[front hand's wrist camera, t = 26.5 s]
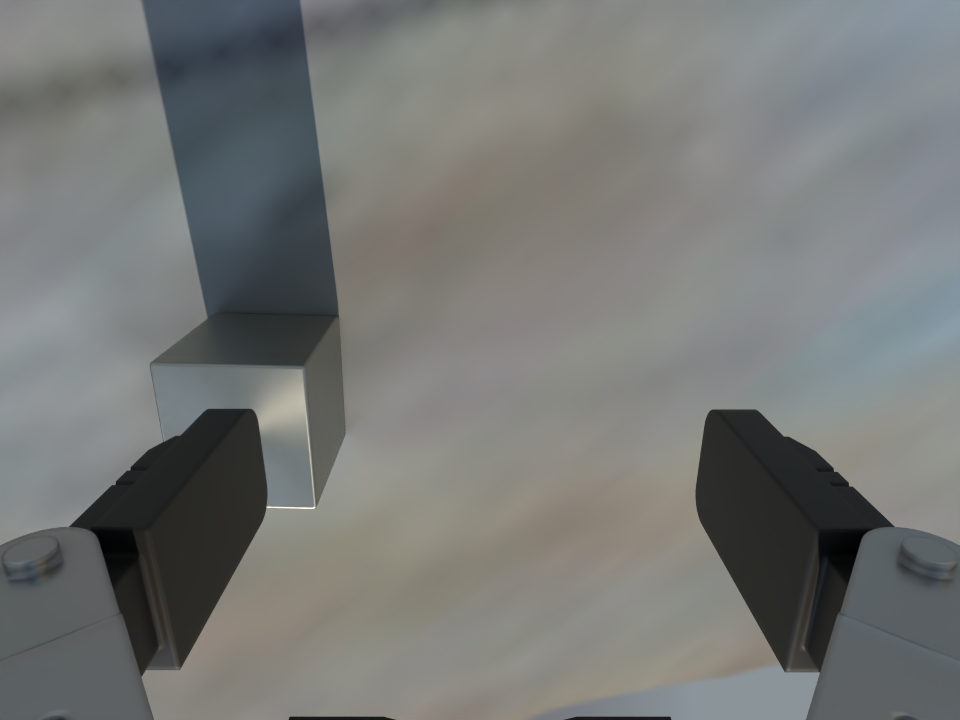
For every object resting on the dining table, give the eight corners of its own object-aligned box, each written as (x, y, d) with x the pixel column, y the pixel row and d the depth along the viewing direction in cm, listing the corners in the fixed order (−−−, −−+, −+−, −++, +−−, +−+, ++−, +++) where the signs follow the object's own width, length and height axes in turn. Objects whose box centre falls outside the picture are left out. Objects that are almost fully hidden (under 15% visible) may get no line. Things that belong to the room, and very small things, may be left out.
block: (346, 435, 24) (316, 509, 19) (230, 432, 24) (173, 507, 19) (339, 315, 22) (304, 366, 18) (214, 312, 22) (147, 362, 18)
